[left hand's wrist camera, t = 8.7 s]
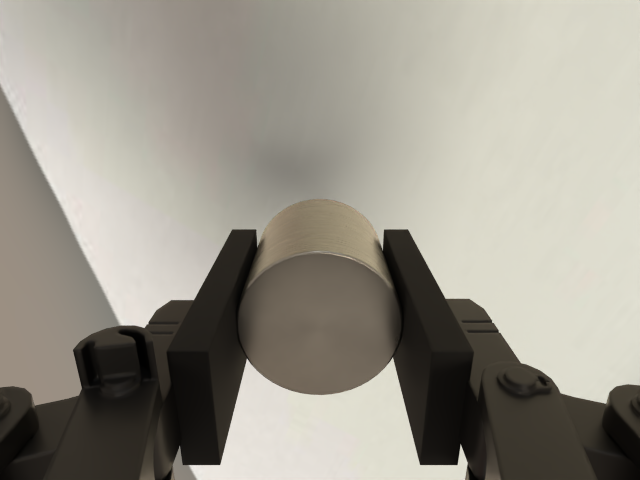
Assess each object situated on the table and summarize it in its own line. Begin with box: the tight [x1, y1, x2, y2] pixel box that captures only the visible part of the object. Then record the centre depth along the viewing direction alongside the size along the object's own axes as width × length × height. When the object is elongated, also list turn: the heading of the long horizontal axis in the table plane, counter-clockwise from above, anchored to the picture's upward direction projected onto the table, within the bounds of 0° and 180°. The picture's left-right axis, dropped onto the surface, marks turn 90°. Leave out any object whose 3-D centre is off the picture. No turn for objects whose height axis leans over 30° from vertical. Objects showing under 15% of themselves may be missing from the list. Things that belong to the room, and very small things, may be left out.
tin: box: [236, 199, 403, 395], centre depth 13 cm, size 4×4×4 cm
